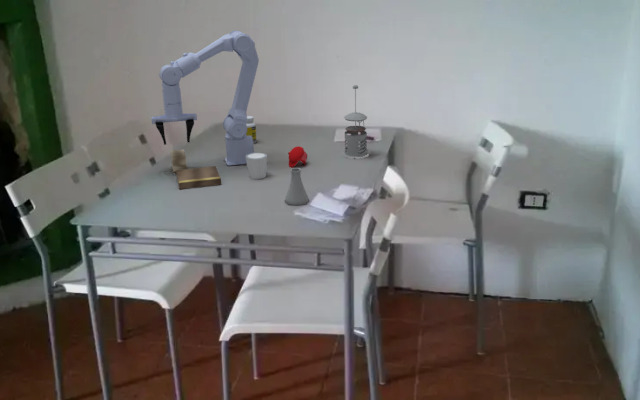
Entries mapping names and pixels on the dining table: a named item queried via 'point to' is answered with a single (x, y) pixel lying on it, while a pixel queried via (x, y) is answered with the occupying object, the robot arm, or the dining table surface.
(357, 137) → the french press
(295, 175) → the flask
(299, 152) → the cap
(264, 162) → the shot glass
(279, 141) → the dining table surface
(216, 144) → the dining table surface
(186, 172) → the dock
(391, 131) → the dining table surface
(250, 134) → the supplement bottle
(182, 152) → the beige block
